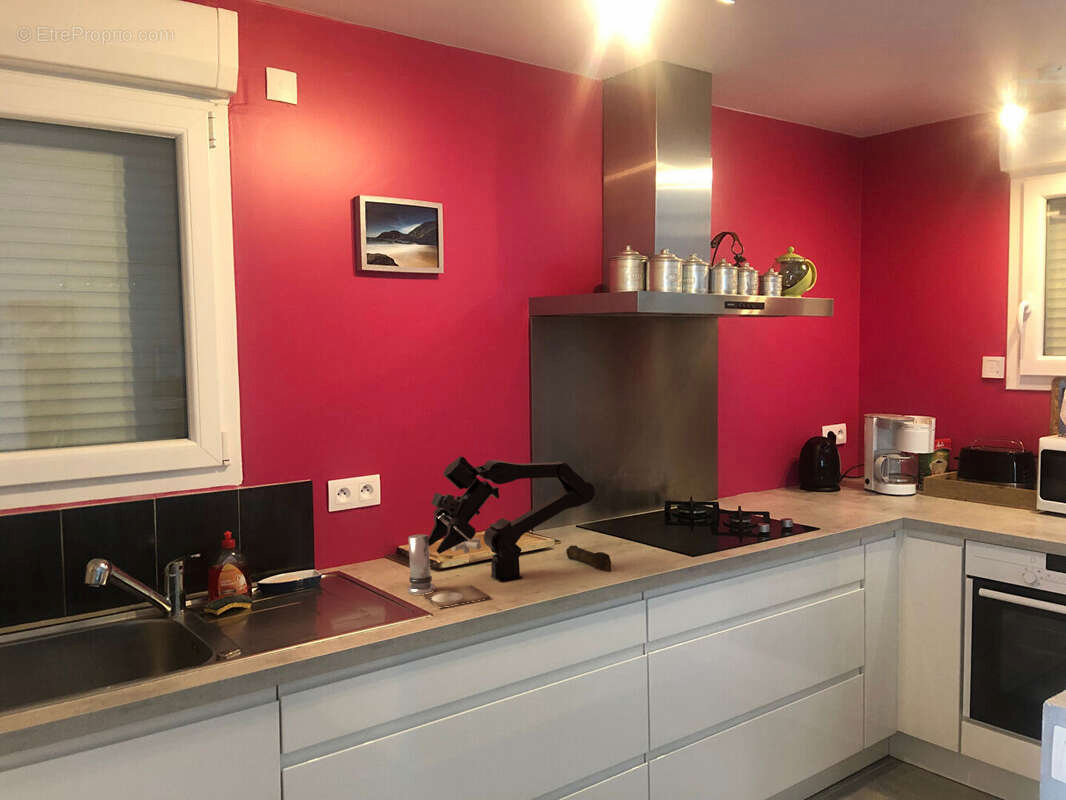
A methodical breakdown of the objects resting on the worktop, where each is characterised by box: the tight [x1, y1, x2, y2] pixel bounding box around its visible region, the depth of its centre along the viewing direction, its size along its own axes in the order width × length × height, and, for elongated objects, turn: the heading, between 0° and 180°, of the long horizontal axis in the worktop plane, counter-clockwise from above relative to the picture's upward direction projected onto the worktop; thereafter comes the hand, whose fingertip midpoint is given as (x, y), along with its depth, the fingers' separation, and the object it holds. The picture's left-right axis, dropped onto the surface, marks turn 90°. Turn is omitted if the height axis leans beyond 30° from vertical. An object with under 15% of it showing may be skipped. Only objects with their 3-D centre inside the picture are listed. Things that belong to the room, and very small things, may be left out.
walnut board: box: [422, 585, 491, 607], centre depth 209 cm, size 13×11×1 cm
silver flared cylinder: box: [407, 533, 436, 595], centre depth 216 cm, size 7×7×14 cm
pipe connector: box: [450, 537, 482, 554], centre depth 243 cm, size 10×10×10 cm
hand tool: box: [565, 544, 612, 572], centre depth 234 cm, size 19×4×5 cm, turn 28°
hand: (432, 548), depth 217 cm, fingers open, 9 cm apart
